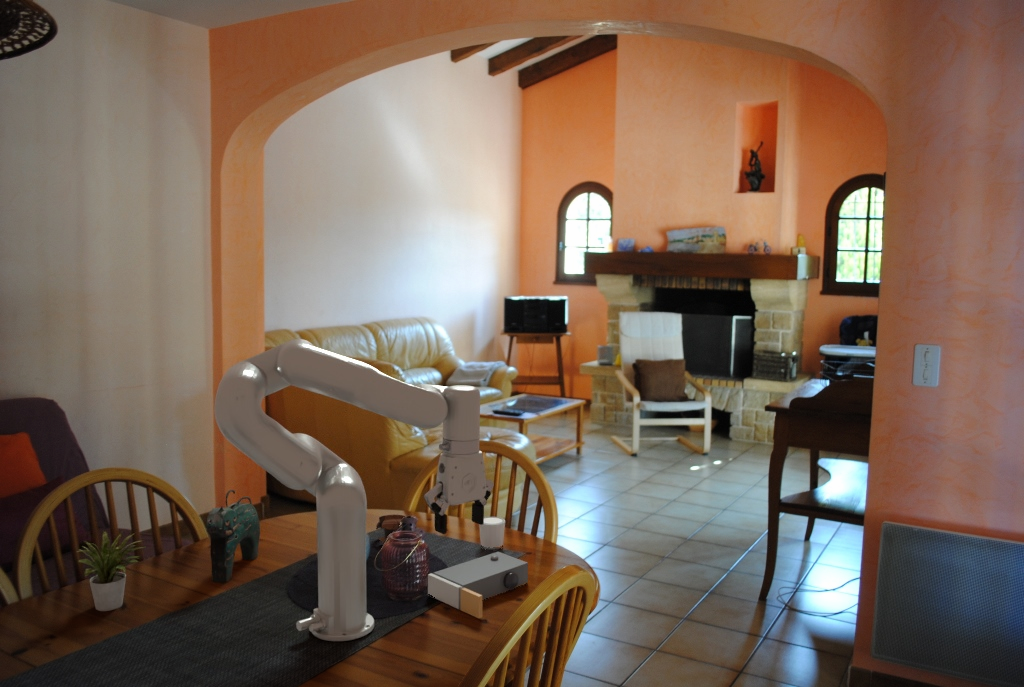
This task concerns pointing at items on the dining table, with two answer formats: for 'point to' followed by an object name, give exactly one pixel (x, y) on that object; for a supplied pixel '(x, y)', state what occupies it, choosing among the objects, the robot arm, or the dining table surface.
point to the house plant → (108, 572)
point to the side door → (455, 595)
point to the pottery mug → (389, 524)
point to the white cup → (492, 532)
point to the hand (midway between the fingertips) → (459, 527)
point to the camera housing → (488, 574)
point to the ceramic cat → (232, 536)
